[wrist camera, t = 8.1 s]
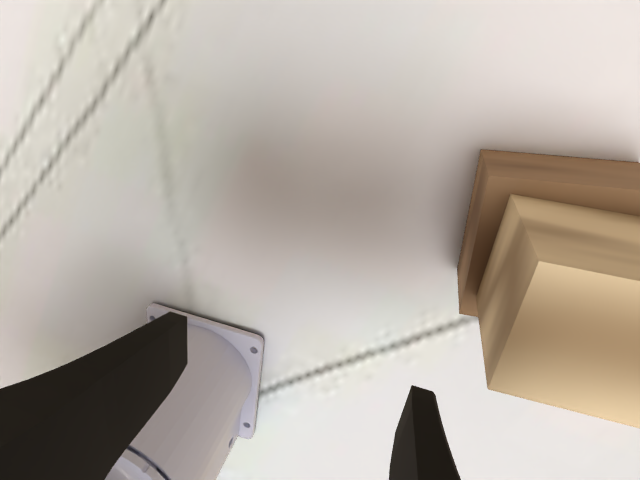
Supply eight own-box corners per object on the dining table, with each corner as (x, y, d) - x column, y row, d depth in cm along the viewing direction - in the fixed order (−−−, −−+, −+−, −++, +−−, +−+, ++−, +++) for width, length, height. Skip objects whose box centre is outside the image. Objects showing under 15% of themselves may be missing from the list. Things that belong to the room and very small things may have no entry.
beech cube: (596, 324, 16) (653, 431, 12) (475, 297, 17) (487, 389, 13) (651, 218, 14) (744, 301, 10) (510, 193, 15) (538, 261, 10)
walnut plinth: (590, 286, 20) (621, 340, 16) (457, 266, 21) (459, 313, 17) (636, 161, 17) (685, 194, 13) (480, 148, 18) (488, 175, 15)
